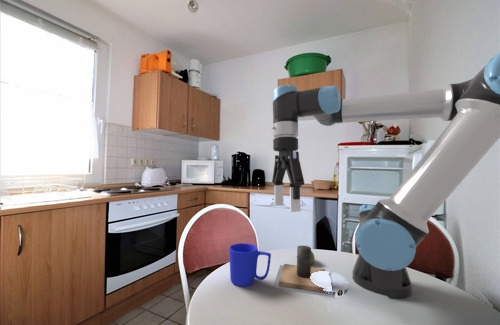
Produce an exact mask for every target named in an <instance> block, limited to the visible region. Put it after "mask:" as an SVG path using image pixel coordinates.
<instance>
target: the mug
mask: <svg viewBox="0 0 500 325" xmlns="http://www.w3.org/2000/svg"><path fill="white" fill-rule="evenodd" d="M228 248H229V273H230V274H229V275H230V282H231V283H232V284H233V285H235V286H236V287H242V288H244V287H249V286H252V284H254V282H255V279H257V280H259V281H263V280H265V279H266V278H267V277H268V274H269V271H270V267H271V260H272V259H271V258H272V254H271V252H267V251H261V250H260V251H259V250H258V246H256V245H255V244H252V243H244V242H243V243H234V244H231V245H230V246H229V247H228ZM262 255H263V256H267V267H266V271H265V273H264V275H262V276H259V275H257V268H258V267H257V266H258V258H259V256H262Z"/></svg>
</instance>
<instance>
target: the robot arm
mask: <svg viewBox="0 0 500 325" xmlns="http://www.w3.org/2000/svg"><path fill="white" fill-rule="evenodd" d="M339 88H340V87H338V86H337V85H328V86H327V85H323V86H321V87H315V88H311V89H305V90H301V91H299V90H298V88H297V87H296V86H295V85H293V84H288V85H287V84H282V85H279V86H277V87H276V88H274V90H273V95H272V97H273V98H272V117H273V118H272V122H273V126H271V129H272V132H273V135H272V136H273V137H274V138H273V140H272V144H273V146H272V148H273V149H272V150H273V151H274V152H278V154H277V155H274V165H273V166H274V167H273V173H272V180H271V182H272V184H273V186H274V206H284V185H285V184H284V182H283V181H284V178H285V174H287V176H288V180H289V185H288V188H289V212H291V213H295V212H297V213H298V212H299V213H300V212H301V188H302V186H305V180H304V175H303V170H302V166H301V162H300V153H299V151H298V150H299V139H298V137H299V118H304V117H314V118H315V119H316V121H317V122H318V123H320V125H323V126H326V127H330V126H333V125H335V124H344V123H357V122H358V123H359V122H360V123H362V122H381V121H382V122H383V121H400V120H416V119H417V120H419V119H420V120H421V119H434V118H435V119H437V118H439V119H441V120H442V121H444V122H449V123H448V125H447V126H446V127H445V128H444V130H443V131H442V132H441V134H439V136H438V137H437V138H436V140H435V141H434V142H433V143H432V145H431V146H430V148H429V149H428V150H427V151H426V152H425V153H424V155H423V156H421V159H420V160H419V161H418V162H417V163H416V164H415V166H414V167H413V168H412V170H411V171H410V172H409V173H408V175H407V176H406V177H405V178H404V180H403V181H402V183H401V184H400V185H399V186H398V187H397V189H396V190H395V191H394V193H392V195H391V196H390V197H389V198H384V199H383V198H382V199H379V200H378V201H377V203H376V204H375V205H372V204H362V205H360V206H359V211H358V215H359V218H358V219H359V224H358V227H357V228H356V231H355V234H354V235H355V236H354V242H355V244H356V245H355V246H356V249H357V251H358V257H357V258H356V262H355V264H354V266H353V269H352V280H353V281H354V283H355V284H356V285H358V286H359V287H361V288H362V289H365V290H367V291H369V292H371V293H375V294H378V295H381V296H386V297H388V298H393V299H396V298H397V299H401V298H408V297H411V295H413V294H412V293H413V291H412V290H413V284H412V281H411V277H410V275H409V272H408V269H407V267H408V266H409V265H410V264H411V263H412V262H413V260H414V259H415V255H416V253H417V247H418V246H419V244H420V243H421V242H422V241H423V240H424V239H425V237H427V235H428V234H429V233H430V230H429V227H428V221H429V220H430V219H431V217H432V216H433V215H435V213H436V212H437V211H438V210H439V208H440V207H441V206H442V205H443V204H444V203H445V201H446V200H448V198H449V197H450V196H451V194H452V193H454V191H455V190H456V189H457V187H459V185H461V183H462V182H463V180H465V178H466V177H467V176H468V175H469V174H470V173H471V172H472V170H474V168H475V167H476V166H477V165H478V164H479V162H480V161H481V160H482V159H483V158H484V156H485V155H486V154H487V153H488V152H489V151H490V150H491V148H493V147H494V145H495V144H496V143H497V141H498V140H499V139H500V52H499V53H498V54H496V55H494V56H493V57H492V58H491V59H489V61H488V62H487V64H485V66H484V67H483V68H481V70H479V72H478V73H477V74H475V75H474V77H473V78H471V79H469V80H466V81H463V82H458V83H450V84H446V85H445V86H444V87H443V88H440V89H430V90H420V91H410V92H401V93H392V94H390V93H389V94H381V95H372V96H361V97H353V98H351V97H350V98H343V99H341V92H340V89H339Z"/></svg>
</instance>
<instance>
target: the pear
mask: <svg viewBox="0 0 500 325" xmlns="http://www.w3.org/2000/svg"><path fill="white" fill-rule="evenodd" d="M314 263H315V254H314V253H313V251H312V250H311V265H312V264H314Z"/></svg>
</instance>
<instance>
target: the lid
mask: <svg viewBox="0 0 500 325" xmlns="http://www.w3.org/2000/svg"><path fill="white" fill-rule="evenodd" d="M296 247H297V249H296V250H297V252H296V253H297V255H296V265H295V264H289V263H283V265H284V266H283V270H282V273H281V276H280V280H279V286H284V287H290V288H296V289H303V290H309V291H315V292H321V293H325V292H324V291H323V289H324V288H322V287H319V286H317V285H315V284H314V283H313V282H312V281H311V279H310V276H311V274H312V273H314V272H318V271H326V269H325V268H318V267H311V266H312V264H311V251H312V248H311V247H310V246H308V245H298V246H296Z"/></svg>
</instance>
